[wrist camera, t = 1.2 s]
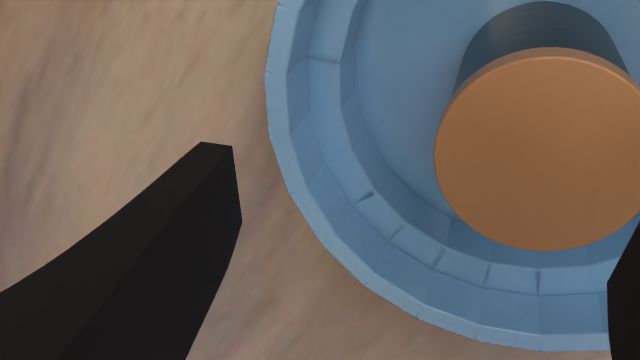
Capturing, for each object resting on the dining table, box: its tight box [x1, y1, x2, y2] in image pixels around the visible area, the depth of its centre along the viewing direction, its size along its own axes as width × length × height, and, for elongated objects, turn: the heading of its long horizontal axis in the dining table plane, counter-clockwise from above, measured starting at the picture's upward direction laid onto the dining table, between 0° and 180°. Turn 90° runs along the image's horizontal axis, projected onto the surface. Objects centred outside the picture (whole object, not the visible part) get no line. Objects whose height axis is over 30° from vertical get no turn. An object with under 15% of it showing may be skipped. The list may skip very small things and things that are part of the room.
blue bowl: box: [264, 0, 640, 352], centre depth 18 cm, size 15×15×4 cm
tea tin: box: [433, 1, 640, 251], centre depth 16 cm, size 5×5×6 cm
